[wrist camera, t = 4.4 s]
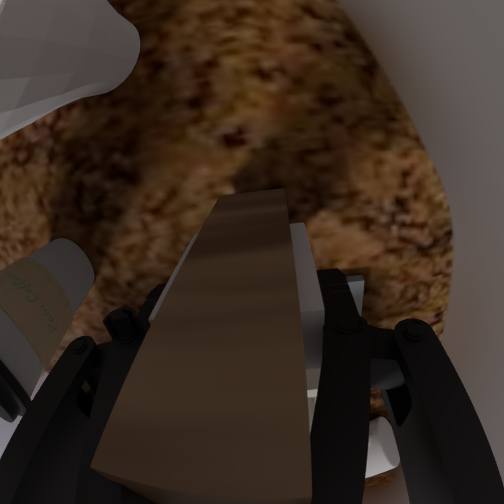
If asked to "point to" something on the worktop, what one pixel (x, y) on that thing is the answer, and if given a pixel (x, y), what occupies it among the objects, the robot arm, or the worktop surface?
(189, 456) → the brown wooden block
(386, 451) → the mug
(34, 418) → the robot arm
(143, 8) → the worktop surface
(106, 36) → the cup
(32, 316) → the coffee cup
